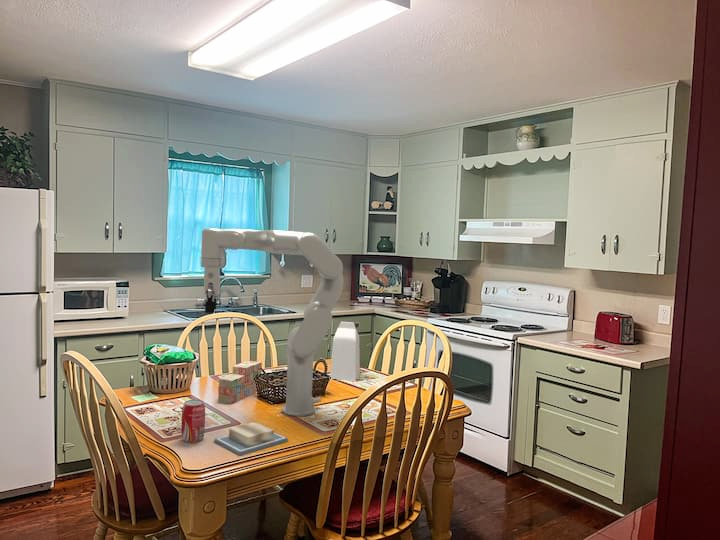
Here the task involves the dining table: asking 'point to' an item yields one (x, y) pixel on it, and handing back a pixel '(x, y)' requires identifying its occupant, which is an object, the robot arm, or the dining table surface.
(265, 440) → the butter dish
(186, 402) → the soda can
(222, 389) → the stack of blocks
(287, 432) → the dining table surface
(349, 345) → the milk
